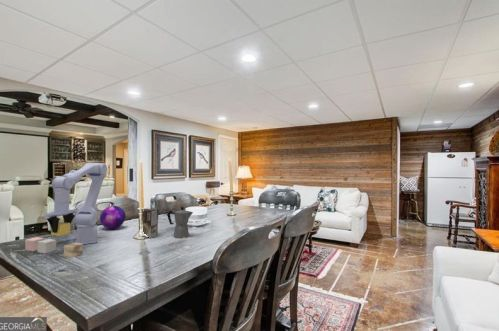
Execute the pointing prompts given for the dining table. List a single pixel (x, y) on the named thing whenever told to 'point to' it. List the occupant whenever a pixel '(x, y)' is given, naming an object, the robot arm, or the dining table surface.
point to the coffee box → (150, 222)
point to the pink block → (32, 243)
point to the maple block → (73, 250)
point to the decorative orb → (112, 217)
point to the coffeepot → (180, 222)
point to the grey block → (46, 246)
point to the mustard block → (62, 229)
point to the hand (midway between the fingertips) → (60, 231)
